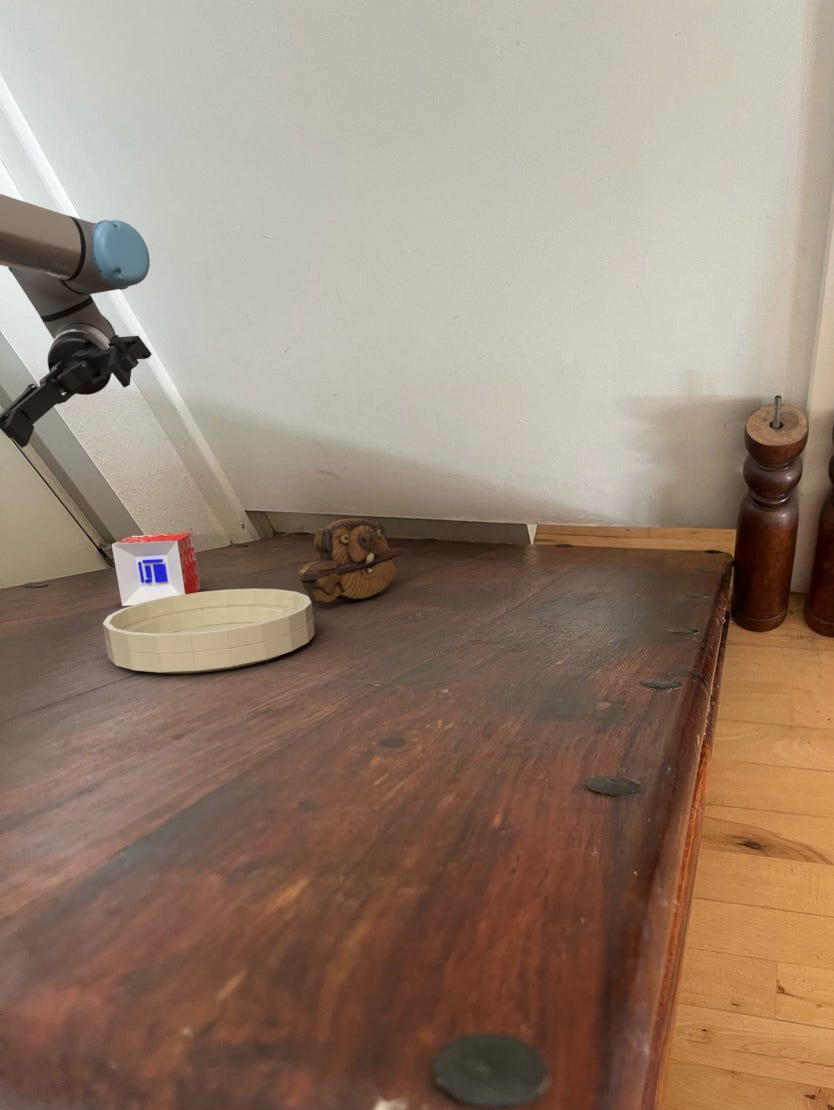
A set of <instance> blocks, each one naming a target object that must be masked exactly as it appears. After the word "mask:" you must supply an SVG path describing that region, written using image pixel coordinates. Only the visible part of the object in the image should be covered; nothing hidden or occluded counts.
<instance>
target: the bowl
mask: <svg viewBox="0 0 834 1110" xmlns="http://www.w3.org/2000/svg"><path fill="white" fill-rule="evenodd" d="M102 628H103V629H102V630H103V634H104V640H105V647H106V651H107V657H108V659H109V660H110V661H111V662H112V664H114V666H117V667H120V668H123V669H128V670H131V671H135V672H136V671H137V672H146V673H147V672H148V673H156V674H169V675H170V674H171V675H173V674H174V675H175V674H176V675H177V674H178V675H179V674H181V675H182V674H184V675H185V674H198V673H199V674H200V673H210V672H219V671H225V670H232V669H237V668H243V667H248V666H251V665H255V664H259V663H264V662H267V661H270V660H273V659H275V658H278V657H280V656H283V655H285V654H288V653H290V652H293V651H295V650H297V649H299V648H300V647H302V646H304V645H306V644H308V643H309V642H310V641H311V640H312V638H313V637H314V636H315V635H316V634H315V633H316V632H315V631H316V630H315V621H314V612H313V603H312V602H311V600H310V598H309V596H308V595H306V594H303V593H301V592H298V591H293V590H286V589H279V588H236V589H235V588H233V589H231V588H230V589H218V590H207V591H198V592H197V593H190V594H184V595H177V596H171V597H166V598H161V599H156V600H152V601H147V602H143V603H140V604H136V605H130V606H126V607H124V608H121V609H119V610H117V611H114V612H112V613H111V614H108V615H107V616H106V618H105V619H104V620H103V622H102Z"/></svg>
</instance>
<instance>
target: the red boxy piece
mask: <svg viewBox="0 0 834 1110" xmlns="http://www.w3.org/2000/svg"><path fill="white" fill-rule="evenodd" d="M193 535H194V534H193V532H175V533H159V534H158V533H157V534H139V535H130V536H127V537H125V538H123V539H121V540H118V541H116V542H114V543H112V544H111V549H112V550H111V551H112V555H113V560H114V567H115V573H116V579H117V584H118V585H117V586H118V590H119V597H120V602H121V607H130V606H133V605H136V604H140V603H143V602H147V601H152V600H156V599H161V598H166V597H171V596H177V595H184V594H190V593H197V592H200V591H201V585H200V577H199V571H198V563H197V557H196V556H197V555H196V550H195V549H196V548H195V542H194V536H193Z"/></svg>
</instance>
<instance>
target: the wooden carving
mask: <svg viewBox="0 0 834 1110" xmlns="http://www.w3.org/2000/svg"><path fill="white" fill-rule="evenodd" d="M313 545H314V549H315V551H316V552H317V553H318V555H319V558H320V561H319V560H317V561H310V562H308V563H306V564H304V565H303V566H302V567H301V569H300V570H298V572H297V579H298V581H299V582H301V584H302V587H303V588H304V590H305V591H306V593H307V596H309V598H310V600H311V602H312V604H319V603H330V602H332V601H334V600H335V599H337V600H341V601H342V600H343V601H350V600H362V599H367V598H370V597H373V596H375V595H377V594H378V593H380V592H382V591H384V590H385V588H387V587H388V586H389V585H390V584H391V582H392V581H393V580H394V579H395V577H396V576H397V574H398V568H396V567H395V566H394V562H393V560H392V559H395V558H397V557H399V556H401V555H402V554H403V549H402V548H401V547H396V548H389V545H388V542H387V532H386V529H385V527H384V526H383V524H382V522H380V521H376V522H374V521H372V520H368V519H365V518H342V519H339V520H334V521H333V522H330V523H329V524H327V526H325V527H324V528H317V529H316V530H315V534H314V542H313Z"/></svg>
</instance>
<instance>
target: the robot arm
mask: <svg viewBox="0 0 834 1110" xmlns="http://www.w3.org/2000/svg"><path fill="white" fill-rule="evenodd" d="M150 262H151V258H150V251H149V248H148V246H147V244H146V242H145V240H144V238H143V236H142V235H141V234H140V232H139V231H138V230H137V229H136V228H135V227H134V226H132V225H131V224H129V223H127V222H126V221H122V220H118V219H112V220H108V219H103V220H99V221H98V222H91V221H87V220H85V219H82V218H78V217H75V216H71V215H68V214H65V213H60V212H58V211H55V210H53V209H48V208H45V207H42V206H39V205H36V204H33V203H29V202H27V201H24V200H20V199H17V198H15V197H11V196H8V195H5V194H1V193H0V266H3V267H7V268H8V270H9V272H10V273H11V274H12V276H13V278H15V281H16V282H17V284H18V285H19V286H20V288H21V289H22V291H23V293H24V294H25V296H26V298H28V300H29V302H30V303H31V305H32V306H33V308H34V309H35V311H36V312H37V314H38V316H39V318H40V319H41V321H42V323H43V324H44V326H45V328H46V330H47V331H48V334H50V336H51V338H52V339H53V342H52V344H51V346H50V349H49V351H48V354H47V367H48V371H49V372H48V373H47V374H45V376H43V377H42V378H41V379H40V380H39V386H38V385H37V384H35V383H30V384H28V385H27V387H26V388H25V389H24V390H23V392H22V393H20V395H19V396H18V397H17V398H16V399H15V400H14V401H13V402H12V403H10V405H8V406H7V408H5V409H4V410H2V412H1V413H0V430H1V432H2V433H3V434H4V435H5V436H6V437H7V439H12V440H13V441H14V442H15V443H16V445H18V446H19V447H20V448H21V449H23V448H25V447H27V446H28V445H29V442H30V440H31V437H32V435H33V432H34V429H35V426H34V424H36V422H38V421H39V420H40V419H41V418H42V417H44V416H45V415H46V414H47V413H48V412H49V411H50V410H51V409H53V408H54V407H55V406H56V405H60V404H64V403H66V402H67V401H69V400H70V399H71V398H72V397H74V396H75V395H81V396H82V395H83V396H89V395H93V394H97V393H99V392H101V391H102V390H104V389H105V388H106V386H107V385H108V384H109V382H110V380H111V377H112V375H114V377H115V378H116V380H117V381H118V382H119V383H120V384H121V386H122V387H123V388H124V389H125V388H127V387H129V386H131V380H132V379H131V378H132V370H133V369H134V368H136V367H138V365H139V364H140V362H139V361H138V360H147V359H150V358H151V356H152V352H151V351H150V349H149V347H147V345H146V344H145V342H144V341H143V340H142V338H141V337H140V335H128V336H119V334H116V331H115V328H114V326H113V325H112V323H111V321H110V320H109V319H108V318H107V317H106V316H105V315H103V314H102V312H101V311H100V309H99V307H98V306H97V304H96V302H95V300H94V298H93V297H92V295H95V294H99V293H106V292H112V291H117V290H119V291H120V290H126V289H128V288H129V287H132V286H135V285H138V284H140V283H141V282H143V281H144V280H145V279H146V278H147V276H148V274H149V271H150V266H151V265H150V264H151V263H150Z"/></svg>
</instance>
